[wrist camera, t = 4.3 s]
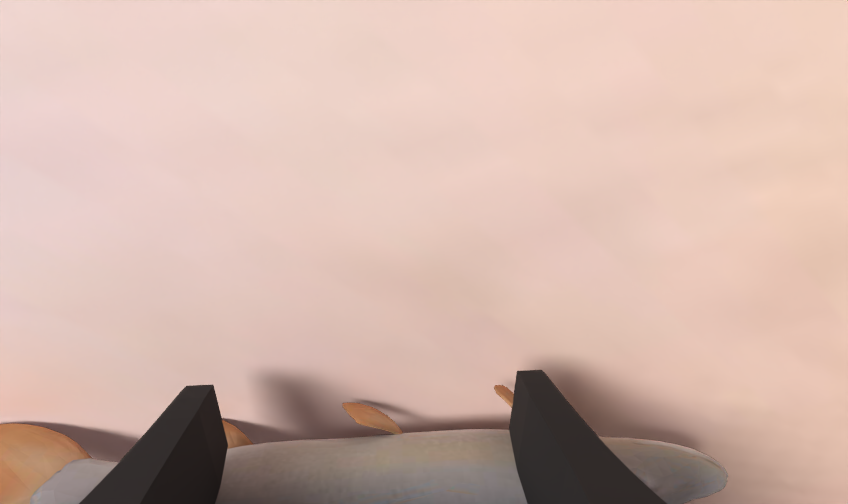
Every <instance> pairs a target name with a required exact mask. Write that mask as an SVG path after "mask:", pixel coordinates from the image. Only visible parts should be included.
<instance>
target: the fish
mask: <svg viewBox="0 0 848 504" xmlns="http://www.w3.org/2000/svg"><path fill="white" fill-rule="evenodd" d="M494 389H495V391H496V393H497V394H498V395H499V396H500V397H501V398H502V399H503V400H505V401H506V402H507V403H508V404H509V405H510V406H511V408H512V405H513V398H514V394H513V392H511V391H510V390H509V389H508V388H507V387H505V386H503V385H502V386H501V385H495V387H494ZM343 408H344V409H345V410H346V411H347V413H348V414H349V415H350V416H351V417H352V418H353V419H354V420H355V421H356V423H358V424H361V425H365V426H369V427H373V428H378V429H381V430H385V431H388V432H390V433H393V434H385V435H374V436H364V437H353V438H337V439H314V440H295V441H281V442H268V443H261V444H253V443H252V442H251V441H250V440H249V439H248V438H247V437H246V436H245V434H244V433H243V432H241V431H240V430H239V429H238V428H237V427H236V426H234V425H232V424H230V423H228V422H226V421H223V420H222V422H223V426H224V430H225V434H226V438H227V442H228V448H227V454H226V459H225V465H224V470H223V475H222V480H221V485H220V489H219V492H218V496H217V499H216V502H215V504H527V500H526V497H525V494H524V491H523V488H522V485H521V482H520V478H519V475H518V472H517V468H516V463H515V458H514V453H513V448H512V443H511V437H510V432H509V430H505V429H464V430H445V431H430V432H414V433H403V432H402V430H401V429H400V428H399V427H398V425H397V424H396V423H395V422H394V421H393V420H392V419H390V418H389V417H388V416H387V415H385V414H384V413H382V412H380V411H379V410H377V409H375V408H373V407H370V406H366V405H363V404H360V403H343ZM598 437H599V438H600V439H601V440H602V441H603V442H604V444H605V445H606V446H607V447H608V448H609V449H610V450H611V451H612V452H613V453H614V454H615V455H616V456H617V457H618V458H619V459H620V460H621V461H622V462H623V463H624V464H625V465H626V466H627V467H628V468H629V469H630V470H631V471H632V472H633V473H634V474H635V475H636V476H637V477H638V478H639V479H640V480H641V481H642V482H643V483H645V484H646V485H647V486H648V487H649V488H650V489H651V490H652V491H653V492H655V493H656V494H657V495H658V496H659V497H660V498H661V499H662V500H664V501H665V502H666V503H667V504H684V503H686V502H688V501H691V500H693V499H697V498H702V497H706V496H709V495H711V494H713V493H716V492H718V491H720V490H722V489H723V488H724V487H725V485H726V482H727V477H728V475H727V472H726V470H725V468H724V467H723V466H722V465H720V464H719V463H718V462H717V461H716V460H714V459H713V458H711V457H710V456H708V455H706V454H703V453H701V452H699V451H697V450H694V449H692V448H689V447H685V446H681V445H677V444H673V443H668V442H662V441H656V440H646V439H636V438H617V437H601V436H598ZM118 463H119V462H111V461H105V460H99V459H93V458H91V457H90V456H89V455H88V454H87V452H86V451H85V450H84V449H83V448H82V447H81V446H80V445H79V444H78V443H76V442H75V441H74V440H72V439H71V438H69V437H68V436H66V435H64V434H61V433H59V432H56V431H53V430H51V429H48V428H44V427H40V426H34V425H29V424H16V423H11V424H0V504H79V503H80V502H81V501H82V500H83V499H84V498H85V497H86V496H87V495H88V494H89V493H90V492H91V491H92V490H93V489H94V488H95V487H96V486H97V485H98V484H99V483H100V482H101V481H102V480H103V478H104V477H105V476H106V475H107V474H108V473H109V472H110V471H111V470H112V469H113V468H114V467H115V466H116V465H117V464H118Z"/></svg>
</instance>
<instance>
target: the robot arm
mask: <svg viewBox="0 0 848 504" xmlns="http://www.w3.org/2000/svg"><path fill="white" fill-rule="evenodd" d="M509 432H510V437H511V443H512V448H513V453H514V458H515V463H516V468H517V472H518V475H519V478H520V482H521V485H522V488H523V491H524V494H525V497H526V500H527V504H667V503H666V502H665V501H664V500H662V499H661V498H660V497H659V496H658V495H657V494H656V493H655V492H653V491H652V490H651V489H650V488H649V487H648V486H647V485H646V484H645V483H643V482H642V481H641V480H640V479H639V478H638V477H637V476H636V475H635V474H634V473H633V472H632V471H631V470H630V469H629V468H628V467H627V466H626V465H625V464H624V463H623V462H622V461H621V460H620V459H619V458H618V457H617V456H616V455H615V454H614V453H613V452H612V451H611V450H610V449H609V448H608V447H607V446H606V445H605V444H604V442H603V441H602V440H601V439H600V438H599V437H598V436H597V435H596V434H595V432H594V431H593V430H592V429H591V428H590V427H589V426H588V425H587V424H586V422H585V421H584V420H583V419H582V418H581V417H580V416H579V414H578V413H577V412H576V411H575V410H574V408H573V407H572V406H571V405H570V404H569V402H568V401H567V400H566V399H565V398H564V396H563V395H562V394H561V393H560V391H559V390H558V389H557V388H556V386H555V385H554V384H553V383H552V381H551V380H550V379H549V378H548V376H547V375H546V374H545V373H544V372H543V371H542V370H530V371H517V376H516V383H515V390H514V398H513V405H512V412H511V419H510V427H509ZM227 448H228V442H227V438H226V434H225V430H224V426H223V422H222V418H221V414H220V410H219V406H218V402H217V398H216V394H215V390H214V386H213V385H197V386H186V387H185V388H184V389H183V390H182V391H181V392H180V393H179V395H178V396H177V397H176V398H175V399H174V400H173V402H172V403H171V404H170V405H169V406H168V407H167V409H166V410H165V411H164V412H163V413H162V414H161V416H160V417H159V418H158V419H157V420H156V421H155V423H154V424H153V425H152V426H151V427H150V428H149V430H148V431H147V432H146V433H145V434H144V435H143V436H142V438H141V439H140V440H139V441H138V442H137V443H136V444H135V445H134V446H133V447H132V449H131V450H130V451H129V452H128V453H127V454H126V455H125V456H124V457H123V459H122V460H121V461H120V462H119V463H118V464H117V465H116V466H115V467H114V468H113V469H112V470H111V471H110V472H109V473H108V474H107V475H106V476H105V477H104V478H103V480H102V481H101V482H100V483H99V484H98V485H97V486H96V487H95V488H94V489H93V490H92V491H91V492H90V493H89V494H88V495H87V496H86V497H85V498H84V499H83V500H82V501H81V502H80V503H79V504H215V502H216V499H217V496H218V492H219V489H220V485H221V480H222V475H223V470H224V465H225V459H226V454H227Z"/></svg>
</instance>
